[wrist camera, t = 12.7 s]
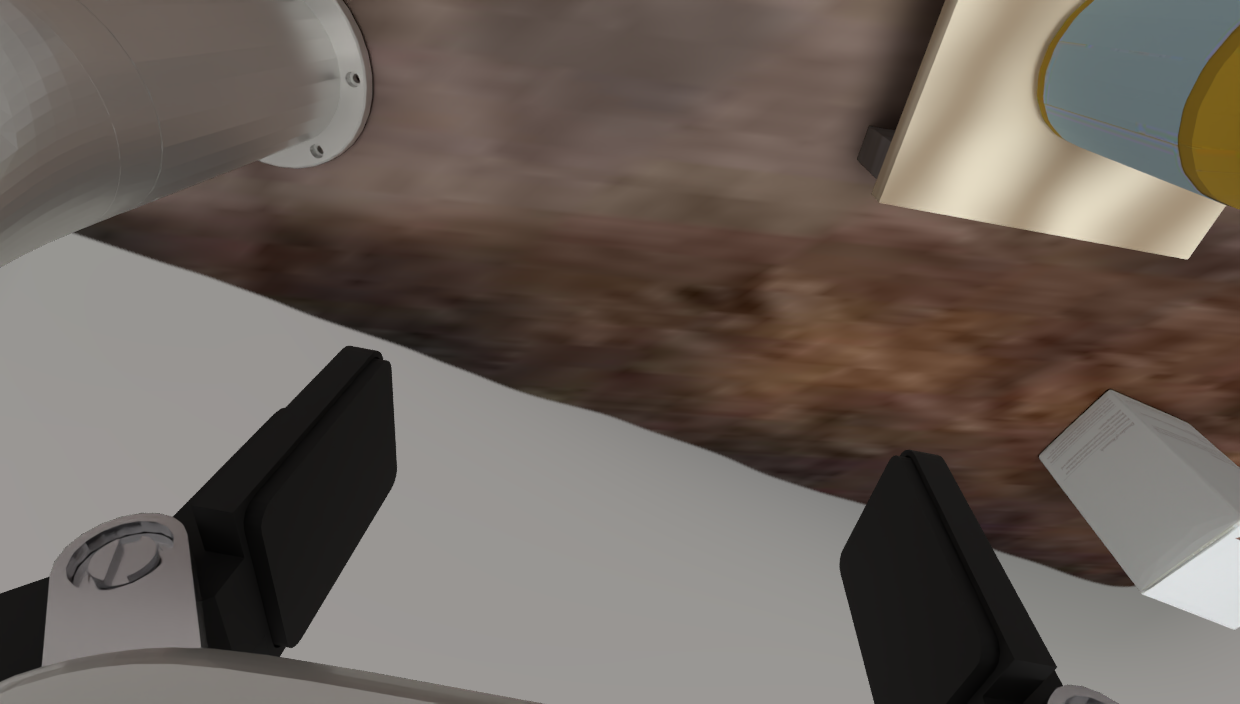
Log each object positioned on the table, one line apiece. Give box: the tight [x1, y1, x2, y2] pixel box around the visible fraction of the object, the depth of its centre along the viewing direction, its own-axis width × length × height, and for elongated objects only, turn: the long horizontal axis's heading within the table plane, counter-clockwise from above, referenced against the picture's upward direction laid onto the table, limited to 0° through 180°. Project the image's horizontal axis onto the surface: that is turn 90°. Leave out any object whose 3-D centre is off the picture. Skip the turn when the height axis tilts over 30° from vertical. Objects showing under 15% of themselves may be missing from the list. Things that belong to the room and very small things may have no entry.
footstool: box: [857, 0, 1226, 259], centre depth 30 cm, size 16×16×8 cm
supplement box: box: [1039, 390, 1240, 629], centre depth 40 cm, size 7×7×13 cm
